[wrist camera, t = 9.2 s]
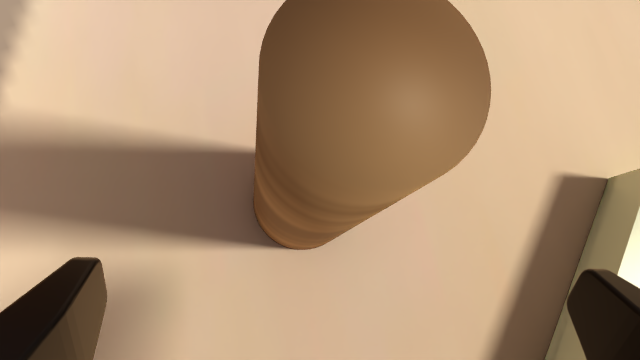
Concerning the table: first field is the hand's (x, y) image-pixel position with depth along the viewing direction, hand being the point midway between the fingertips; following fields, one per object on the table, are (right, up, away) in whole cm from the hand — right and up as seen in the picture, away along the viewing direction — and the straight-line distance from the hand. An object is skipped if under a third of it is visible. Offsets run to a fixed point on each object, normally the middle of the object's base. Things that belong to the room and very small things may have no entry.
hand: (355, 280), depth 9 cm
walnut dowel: (-1, +1, +11) cm, 11 cm away
